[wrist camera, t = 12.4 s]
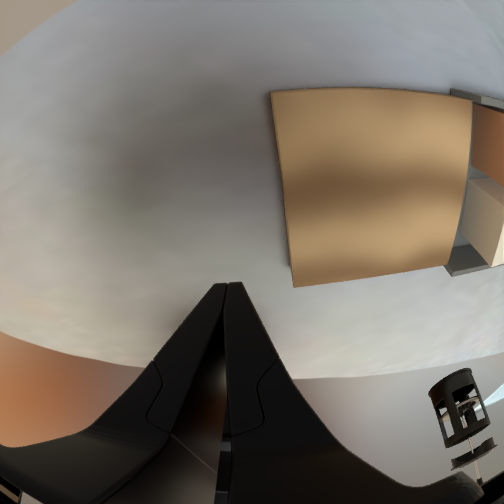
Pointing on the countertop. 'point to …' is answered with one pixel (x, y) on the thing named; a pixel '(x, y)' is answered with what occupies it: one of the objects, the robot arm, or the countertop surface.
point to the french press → (461, 415)
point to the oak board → (370, 179)
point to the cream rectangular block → (485, 219)
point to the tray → (462, 251)
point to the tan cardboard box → (488, 141)
